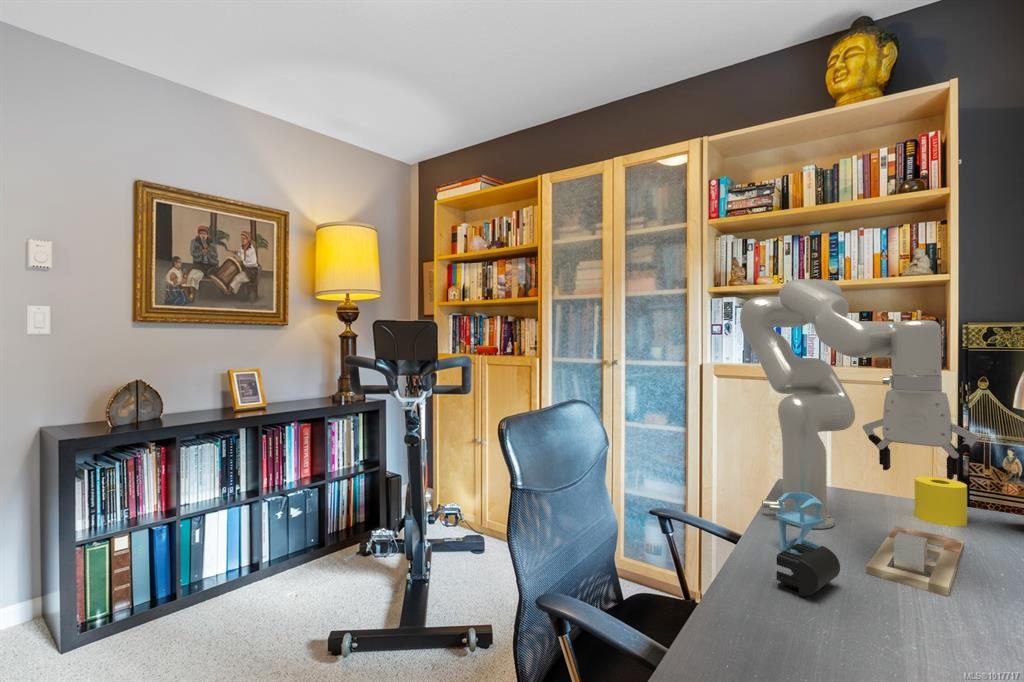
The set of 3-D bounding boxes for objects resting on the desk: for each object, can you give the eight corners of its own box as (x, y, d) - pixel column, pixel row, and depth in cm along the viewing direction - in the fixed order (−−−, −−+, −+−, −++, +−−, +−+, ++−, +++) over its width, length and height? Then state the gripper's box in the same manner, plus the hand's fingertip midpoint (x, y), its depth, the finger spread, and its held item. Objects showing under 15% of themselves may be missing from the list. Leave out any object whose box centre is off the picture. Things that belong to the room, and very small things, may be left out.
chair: (770, 546, 110) (770, 491, 110) (796, 540, 113) (796, 487, 113) (802, 560, 103) (802, 502, 103) (829, 553, 106) (829, 496, 106)
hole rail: (866, 573, 97) (866, 565, 97) (895, 532, 117) (895, 525, 117) (948, 596, 88) (948, 587, 88) (963, 547, 109) (963, 540, 109)
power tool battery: (817, 605, 86) (817, 565, 86) (775, 589, 91) (775, 552, 91) (840, 587, 92) (840, 550, 92) (799, 573, 97) (799, 538, 97)
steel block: (893, 574, 97) (893, 538, 97) (898, 567, 100) (898, 531, 100) (923, 582, 94) (923, 545, 93) (927, 574, 97) (927, 538, 97)
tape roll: (962, 517, 128) (962, 480, 128) (971, 529, 119) (971, 490, 119) (912, 509, 133) (912, 474, 133) (917, 521, 125) (917, 483, 125)
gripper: (857, 383, 100) (859, 469, 100) (975, 388, 88) (977, 486, 88) (866, 381, 106) (868, 463, 105) (978, 385, 93) (980, 478, 93)
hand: (917, 473), depth 96 cm, fingers open, 9 cm apart
